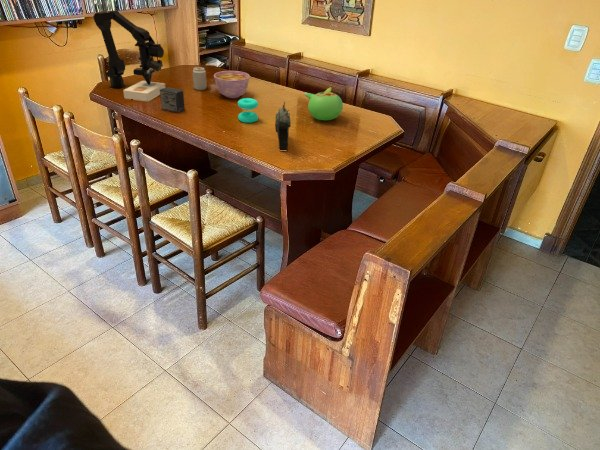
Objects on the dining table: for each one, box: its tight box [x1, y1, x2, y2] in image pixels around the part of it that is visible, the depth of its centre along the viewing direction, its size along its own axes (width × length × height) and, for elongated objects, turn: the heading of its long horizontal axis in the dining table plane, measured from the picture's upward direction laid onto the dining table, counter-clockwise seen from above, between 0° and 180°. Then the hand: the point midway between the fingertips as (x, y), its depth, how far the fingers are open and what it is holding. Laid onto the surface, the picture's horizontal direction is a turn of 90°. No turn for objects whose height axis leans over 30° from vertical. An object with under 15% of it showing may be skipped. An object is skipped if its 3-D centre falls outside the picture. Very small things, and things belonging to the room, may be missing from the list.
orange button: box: [134, 87, 146, 91], centre depth 244 cm, size 5×5×4 cm
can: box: [192, 66, 208, 91], centre depth 261 cm, size 8×8×12 cm
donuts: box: [237, 97, 259, 124], centre depth 223 cm, size 10×10×10 cm
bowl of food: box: [213, 70, 251, 99], centre depth 253 cm, size 20×20×12 cm
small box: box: [159, 86, 186, 114], centre depth 230 cm, size 11×6×10 cm, turn 65°
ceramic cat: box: [274, 101, 292, 151], centre depth 197 cm, size 20×6×20 cm, turn 5°
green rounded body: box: [303, 86, 344, 121], centre depth 229 cm, size 18×17×15 cm
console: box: [122, 80, 166, 102], centre depth 249 cm, size 14×20×4 cm
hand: (149, 84), depth 251 cm, fingers closed, pressing on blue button
